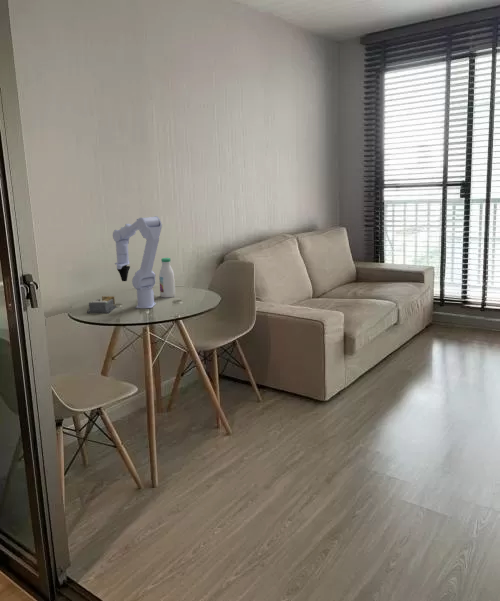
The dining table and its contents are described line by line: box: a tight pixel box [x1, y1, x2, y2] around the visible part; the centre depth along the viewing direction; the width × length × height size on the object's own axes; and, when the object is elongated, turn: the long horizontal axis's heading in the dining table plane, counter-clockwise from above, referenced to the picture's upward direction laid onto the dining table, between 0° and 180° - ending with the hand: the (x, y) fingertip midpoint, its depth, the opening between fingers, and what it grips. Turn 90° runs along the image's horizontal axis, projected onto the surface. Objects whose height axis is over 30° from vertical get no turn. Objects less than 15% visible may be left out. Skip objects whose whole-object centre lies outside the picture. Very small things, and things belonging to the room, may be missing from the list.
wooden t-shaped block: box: [101, 295, 116, 305], centre depth 260 cm, size 10×6×4 cm, turn 176°
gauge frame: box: [86, 298, 117, 314], centre depth 255 cm, size 12×10×5 cm
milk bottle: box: [158, 257, 176, 298], centre depth 280 cm, size 8×8×20 cm
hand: (124, 280), depth 270 cm, fingers closed
